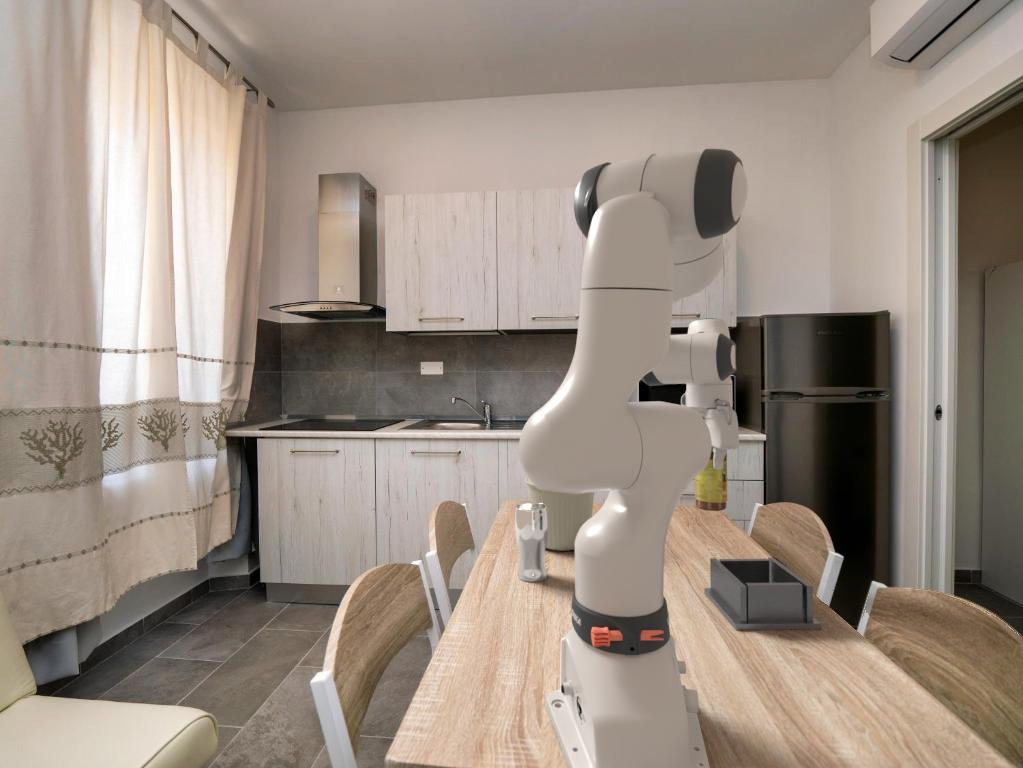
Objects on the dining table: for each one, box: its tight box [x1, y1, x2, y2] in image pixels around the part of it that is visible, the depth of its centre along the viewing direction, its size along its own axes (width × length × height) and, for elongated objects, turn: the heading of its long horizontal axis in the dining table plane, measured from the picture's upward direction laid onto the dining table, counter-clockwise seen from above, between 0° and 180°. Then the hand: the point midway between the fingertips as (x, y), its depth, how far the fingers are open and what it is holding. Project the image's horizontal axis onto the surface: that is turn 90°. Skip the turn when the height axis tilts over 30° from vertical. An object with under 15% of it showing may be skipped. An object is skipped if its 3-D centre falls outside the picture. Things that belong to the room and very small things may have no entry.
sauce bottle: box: [694, 417, 728, 512], centre depth 103 cm, size 7×6×20 cm
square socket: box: [703, 557, 822, 631], centre depth 90 cm, size 14×14×7 cm
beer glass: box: [514, 501, 548, 583], centre depth 106 cm, size 7×7×15 cm
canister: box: [524, 476, 595, 552], centre depth 126 cm, size 18×18×21 cm
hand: (710, 466), depth 104 cm, fingers closed on sauce bottle, 6 cm apart
